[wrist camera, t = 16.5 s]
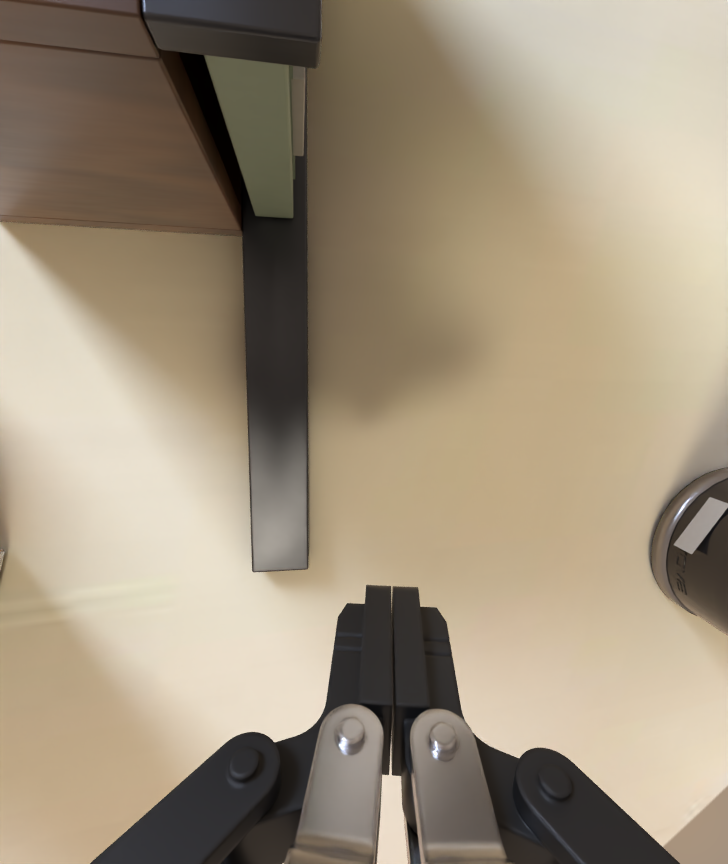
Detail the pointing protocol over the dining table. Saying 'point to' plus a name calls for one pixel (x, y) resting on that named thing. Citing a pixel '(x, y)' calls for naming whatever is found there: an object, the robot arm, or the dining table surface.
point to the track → (266, 269)
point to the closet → (109, 124)
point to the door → (263, 126)
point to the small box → (1, 557)
